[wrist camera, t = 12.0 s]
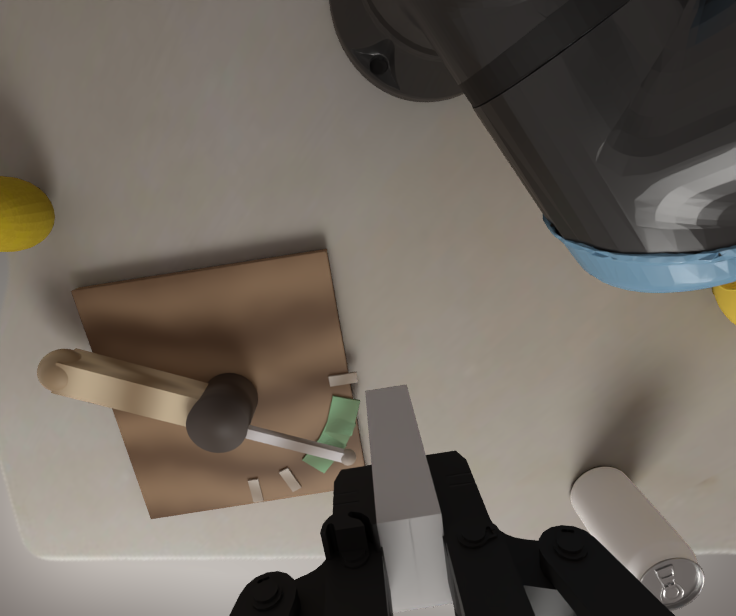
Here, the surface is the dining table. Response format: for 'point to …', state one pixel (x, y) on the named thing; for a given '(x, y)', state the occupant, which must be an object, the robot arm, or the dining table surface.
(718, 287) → the teapot
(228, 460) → the board
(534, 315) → the dining table surface
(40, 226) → the lemon
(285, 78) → the dining table surface
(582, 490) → the can
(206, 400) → the tan long two-tone device
